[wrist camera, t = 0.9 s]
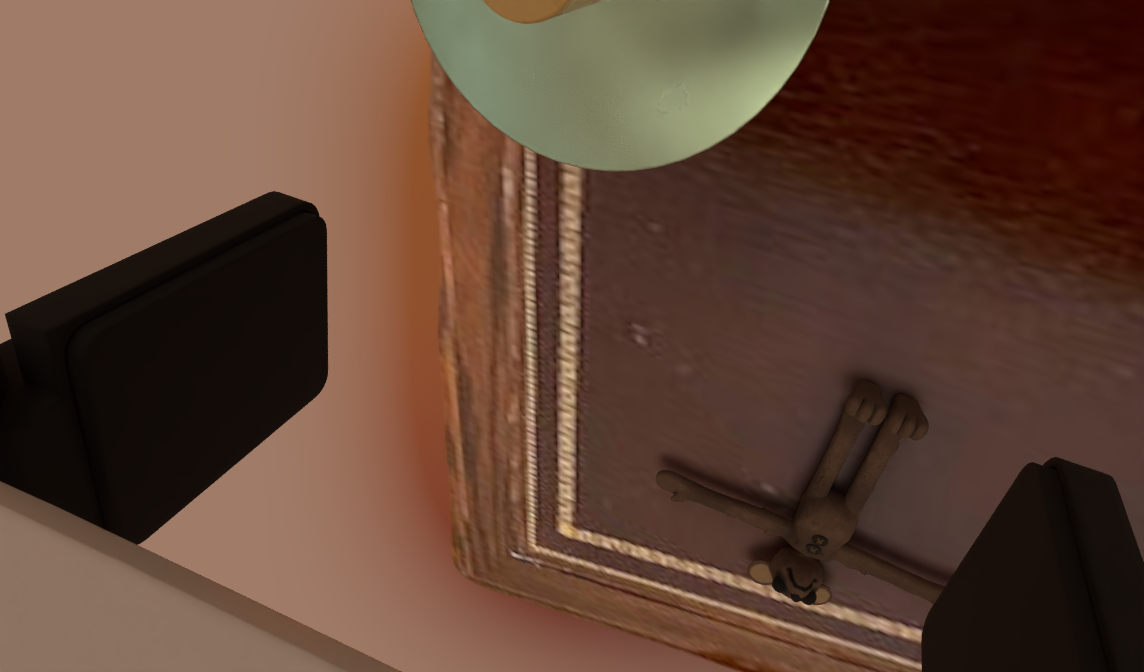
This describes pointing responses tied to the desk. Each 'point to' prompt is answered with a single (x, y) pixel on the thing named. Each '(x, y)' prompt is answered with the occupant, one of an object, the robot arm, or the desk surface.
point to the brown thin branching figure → (826, 505)
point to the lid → (619, 70)
